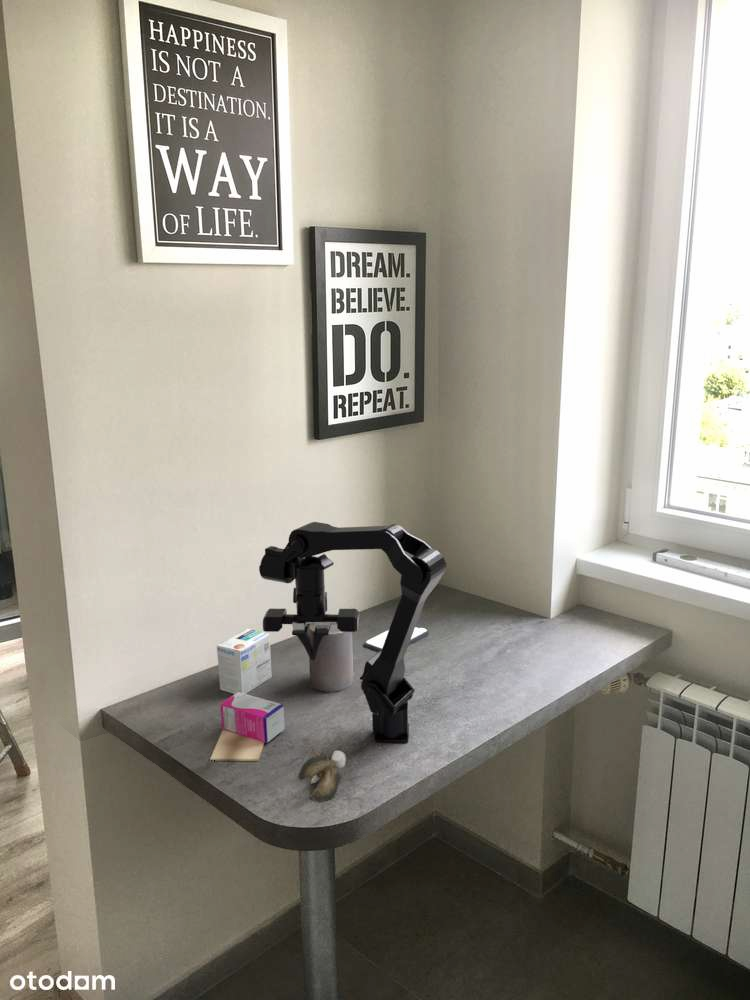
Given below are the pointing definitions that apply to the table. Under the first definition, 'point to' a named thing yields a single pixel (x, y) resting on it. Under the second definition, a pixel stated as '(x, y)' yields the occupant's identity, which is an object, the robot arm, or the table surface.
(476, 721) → the table surface
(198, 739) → the table surface
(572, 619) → the table surface
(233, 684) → the light bulb box
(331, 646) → the pillar candle
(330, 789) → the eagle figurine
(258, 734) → the supplement box
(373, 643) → the phone case
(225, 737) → the pale gold metal plate
